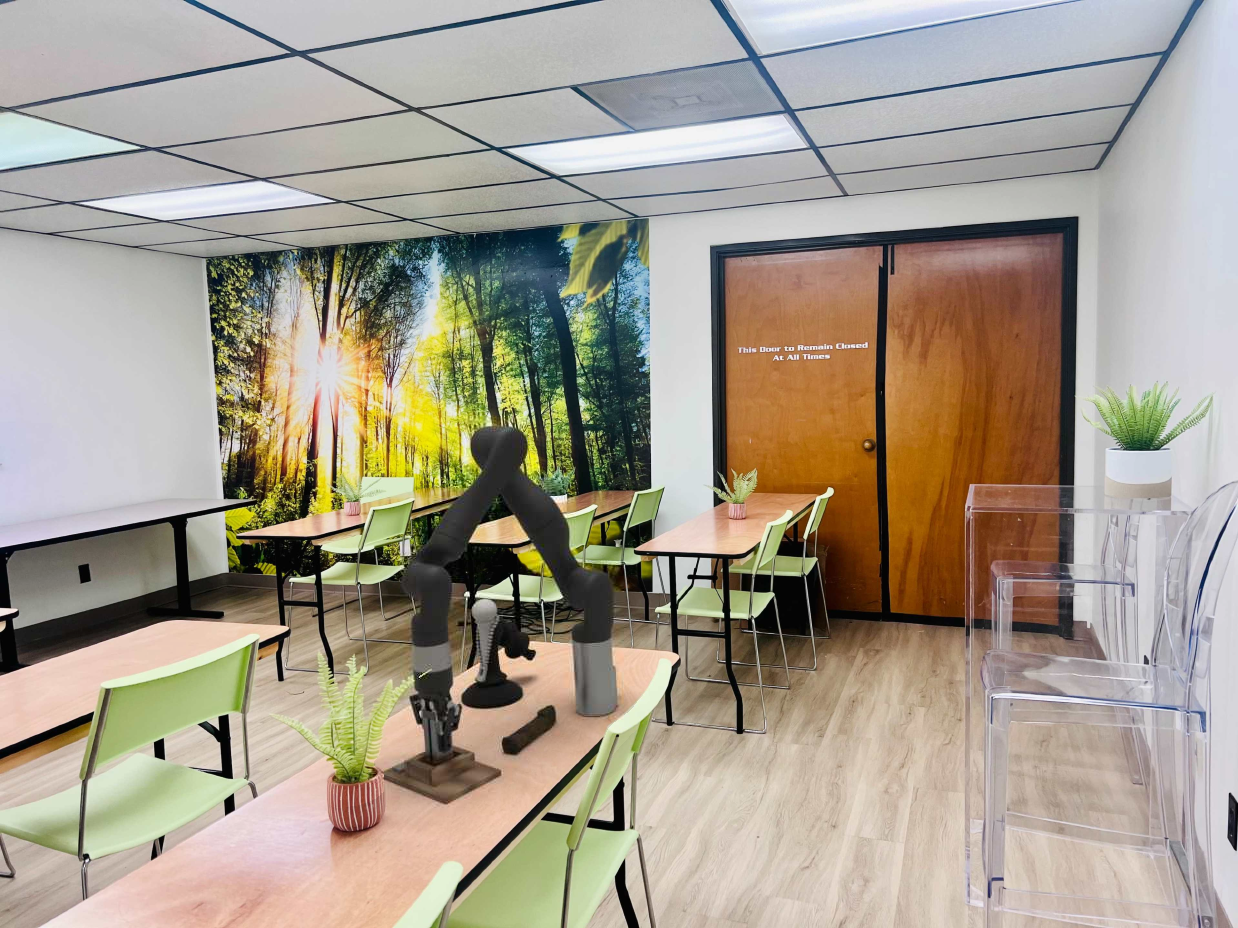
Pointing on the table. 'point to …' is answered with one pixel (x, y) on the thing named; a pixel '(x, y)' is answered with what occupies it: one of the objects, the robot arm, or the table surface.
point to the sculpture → (495, 659)
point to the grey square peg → (434, 740)
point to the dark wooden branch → (530, 730)
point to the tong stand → (442, 775)
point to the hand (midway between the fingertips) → (438, 748)
